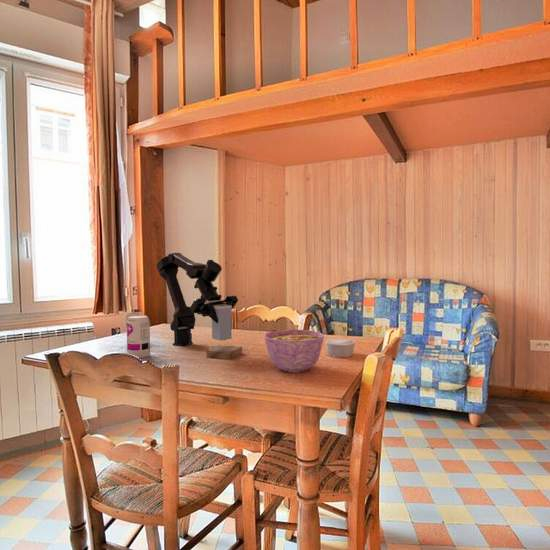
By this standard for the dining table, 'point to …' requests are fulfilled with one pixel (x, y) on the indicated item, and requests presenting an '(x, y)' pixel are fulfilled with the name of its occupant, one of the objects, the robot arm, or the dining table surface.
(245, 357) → the dining table surface
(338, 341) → the ramekin
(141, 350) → the supplement can
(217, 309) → the tin
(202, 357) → the dining table surface
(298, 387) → the dining table surface
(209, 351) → the brown square tray
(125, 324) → the character mug
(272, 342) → the bowl of food
